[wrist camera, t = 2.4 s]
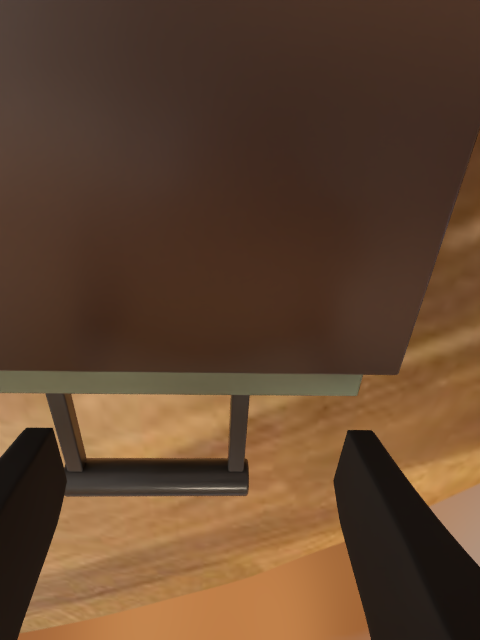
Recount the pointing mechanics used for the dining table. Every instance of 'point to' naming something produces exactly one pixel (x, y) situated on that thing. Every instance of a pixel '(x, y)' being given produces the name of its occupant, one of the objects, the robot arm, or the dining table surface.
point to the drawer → (164, 472)
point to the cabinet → (227, 180)
